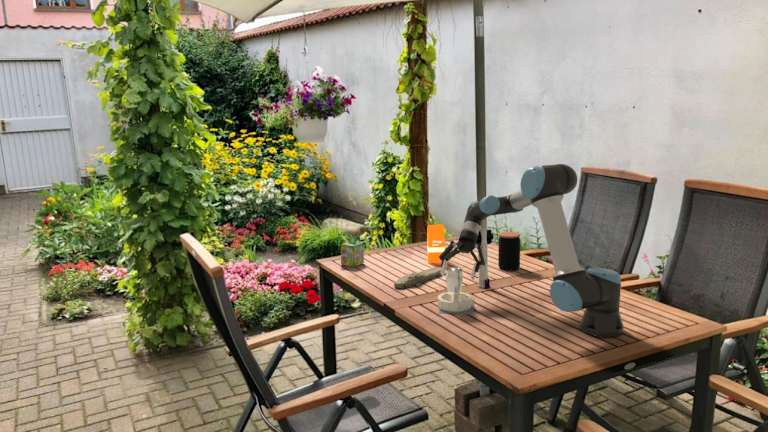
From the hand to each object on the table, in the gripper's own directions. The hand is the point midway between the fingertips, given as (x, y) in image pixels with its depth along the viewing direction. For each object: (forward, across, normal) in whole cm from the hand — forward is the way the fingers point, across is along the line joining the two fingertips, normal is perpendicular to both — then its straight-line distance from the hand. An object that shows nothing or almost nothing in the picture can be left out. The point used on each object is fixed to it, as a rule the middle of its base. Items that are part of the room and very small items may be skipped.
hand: (456, 276), depth 250 cm
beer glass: (+10, 0, -5) cm, 12 cm away
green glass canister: (-17, +74, -35) cm, 84 cm away
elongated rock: (-9, +29, -28) cm, 41 cm away
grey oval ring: (+11, -1, -7) cm, 13 cm away
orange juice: (-33, +36, -52) cm, 71 cm away
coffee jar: (-34, -4, -52) cm, 63 cm away
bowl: (+11, 0, -6) cm, 12 cm away
